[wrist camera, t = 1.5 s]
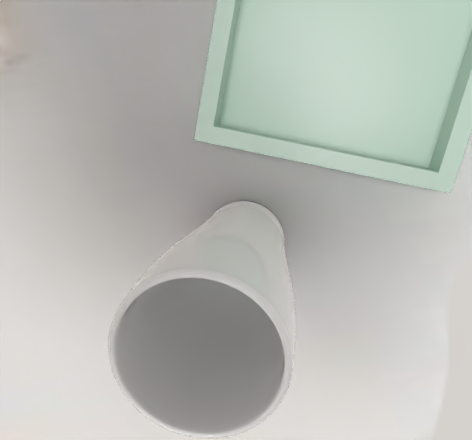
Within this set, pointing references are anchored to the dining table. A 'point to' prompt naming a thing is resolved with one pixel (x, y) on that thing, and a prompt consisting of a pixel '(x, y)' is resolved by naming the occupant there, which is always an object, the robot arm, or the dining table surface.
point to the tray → (343, 85)
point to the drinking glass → (210, 328)
